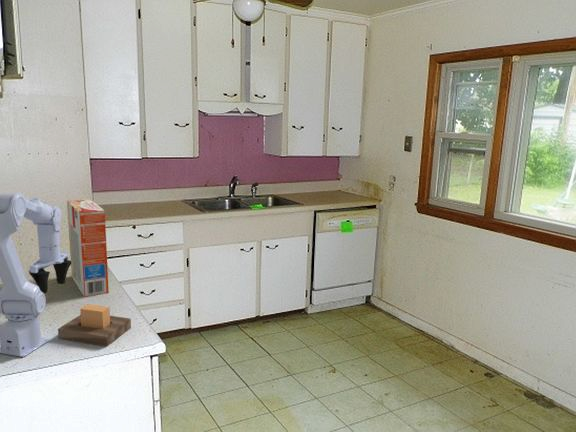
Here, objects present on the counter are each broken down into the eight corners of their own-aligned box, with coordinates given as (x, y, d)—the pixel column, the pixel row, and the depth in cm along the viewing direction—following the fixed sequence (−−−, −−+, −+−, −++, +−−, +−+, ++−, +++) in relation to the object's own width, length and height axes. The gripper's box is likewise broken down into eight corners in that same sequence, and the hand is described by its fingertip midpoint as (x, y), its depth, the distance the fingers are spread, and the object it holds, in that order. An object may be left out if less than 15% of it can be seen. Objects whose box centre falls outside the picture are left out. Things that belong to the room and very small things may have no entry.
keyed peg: (103, 337, 132) (102, 311, 131) (81, 334, 134) (80, 308, 132) (110, 332, 136) (109, 306, 134) (89, 329, 137) (87, 304, 135)
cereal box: (108, 292, 164) (104, 210, 158) (84, 297, 160) (79, 212, 153) (93, 273, 183) (89, 199, 176) (71, 276, 178) (66, 200, 172)
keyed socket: (107, 346, 127) (106, 336, 127) (58, 338, 131) (57, 328, 130) (131, 327, 139) (130, 318, 138) (85, 320, 142) (85, 311, 142)
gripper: (43, 253, 131) (46, 298, 134) (77, 240, 144) (79, 281, 147) (21, 250, 132) (25, 295, 135) (57, 238, 146) (60, 278, 149)
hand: (52, 287), depth 141 cm, fingers open, 7 cm apart
